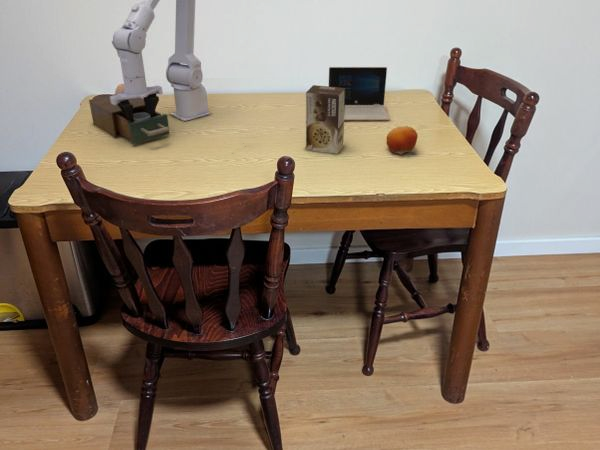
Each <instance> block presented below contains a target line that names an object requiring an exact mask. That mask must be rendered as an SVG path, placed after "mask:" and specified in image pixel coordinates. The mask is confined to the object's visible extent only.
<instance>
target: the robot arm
mask: <svg viewBox="0 0 600 450" xmlns="http://www.w3.org/2000/svg"><path fill="white" fill-rule="evenodd" d="M160 1H161V0H141V2H139V3H135V4H134V5H132V6H131V8H130V12H129V14H128V15H127V18H126V19H125V21H124V23H123V25H122V26H121V27H119V28H118V29H116V30H115V31H114V32H113V35H112V40H111V44H112V46H113V48H114V49H115V50H116V53H117V57H119V62H120V67H121V68H120V69H121V74H122V79H123V84H124V86H125V91H124V92H121V93H119V94H116V95H114V94H112V95H113V96H110V101H111V104H113V105H118V106H119V108H120V109H121V110H122V112H123V114H124V115H125V117H126V119H127V120H129V121H130V122H134V118H133V105H131V104H130V102H129V101H130V100H135V99H139V98H142V99H144V103H145V106H146V112H147V113H149V114H150V117H154V114H155V111H156V109H157V106H158V104H159V102H160V96H158V95H163V94H164V93H163V86H160V85H153V86H147V78H146V72H145V66H144V65H145V64H144V58H143V50H144V49H145V48H146V45H147V43H146V41H147V35H148V34H147V32H148V30H149V29H150V27H151V25H152V23H153V21H154V19H155V18H156V17H155V12H154V10H155V8H156V7H157V6H158V4H159V2H160ZM195 21H196V0H175V25H174V26H175V30H174V37H175V38H174V53H173V54H172V55H171V56H169V58H167V67H166V70H165V77H166V80H167V82H168V83H169V84H170V87H171V88H173V89H172V90H173V97H174V105H175V111H174V112H171V113H170V115H171V116H173V117H174V118H177V119H179V120H181V121H183V122H186V121H187V122H188V121H191V120H193V119H199V118H202V117H205V116H208V115H211V113H210V111H209V101H208V92H207V90H206V87H205V86H204V84H202V82H203V77H204V75H203V70H202V61H200V59H198V58H197V56H196V55H195V54H194V53H195V52H194V51H195V25H196V23H195Z"/></svg>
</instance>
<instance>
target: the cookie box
mask: <svg viewBox="0 0 600 450" xmlns="http://www.w3.org/2000/svg"><path fill="white" fill-rule="evenodd" d="M345 106H346V105H345V88H339V87H329V85H328V86H326V85H316V84H313V85H311V87H310V88H309V89H308V90H307V91H306V92H305V150H306V151H312V152H321V153H327V154H336V155H338V154H339V153H340V151H341V150H342V149H343V148H344V136H345V135H344V134H345V121H344V111H345Z"/></svg>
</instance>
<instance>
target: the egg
mask: <svg viewBox="0 0 600 450" xmlns="http://www.w3.org/2000/svg"><path fill="white" fill-rule="evenodd" d="M124 91H125V86H124V83H120V84H118V85H117V86H116V89H115V91H114V94H118V93H121V92H124Z"/></svg>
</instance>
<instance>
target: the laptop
mask: <svg viewBox="0 0 600 450" xmlns="http://www.w3.org/2000/svg"><path fill="white" fill-rule="evenodd" d="M387 73H388V67H387V66H329V68H328V87H339V88H345V111H344V122H346V121H350V122H351V121H353V122H354V121H356V122H357V121H390V117H389V114H388V112H387V110H386V107H385V106H384V105H385V97H386V85H387V84H386V83H387Z"/></svg>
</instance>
